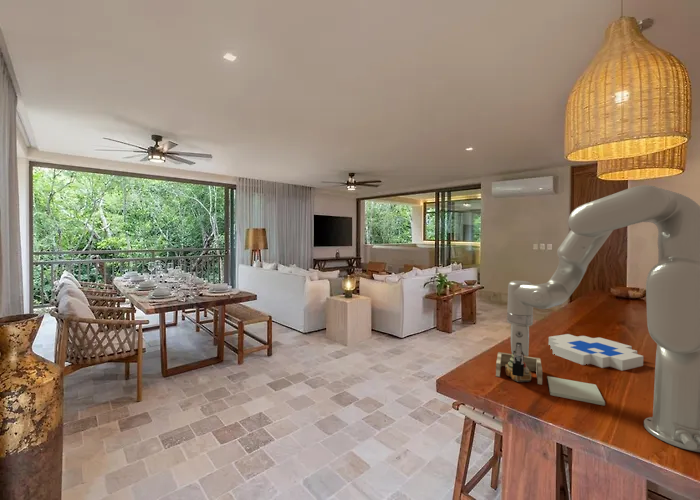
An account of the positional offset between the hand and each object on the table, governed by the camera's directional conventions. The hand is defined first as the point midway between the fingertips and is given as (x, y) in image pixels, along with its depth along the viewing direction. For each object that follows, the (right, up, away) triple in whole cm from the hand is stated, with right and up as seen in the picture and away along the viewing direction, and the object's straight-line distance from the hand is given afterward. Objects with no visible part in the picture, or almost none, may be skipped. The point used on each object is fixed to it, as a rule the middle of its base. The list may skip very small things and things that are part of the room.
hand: (518, 370), depth 108 cm
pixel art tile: (+41, -2, +22) cm, 46 cm away
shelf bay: (+2, -3, +4) cm, 5 cm away
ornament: (0, -3, 0) cm, 3 cm away
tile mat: (+12, -3, -9) cm, 16 cm away
